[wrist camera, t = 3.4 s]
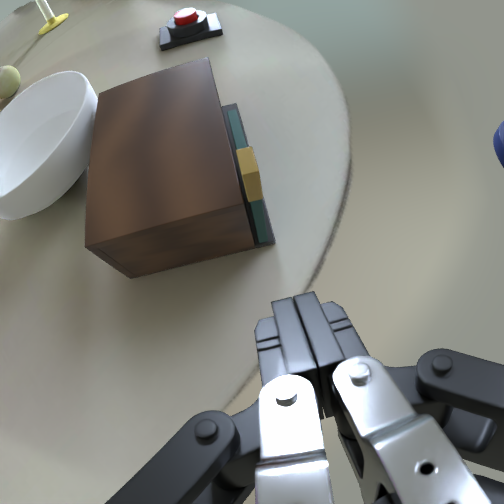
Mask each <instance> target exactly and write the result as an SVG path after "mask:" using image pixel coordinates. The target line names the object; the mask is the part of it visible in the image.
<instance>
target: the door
mask: <svg viewBox="0 0 504 504" xmlns="http://www.w3.org/2000/svg"><path fill="white" fill-rule="evenodd" d="M227 114H228V118H229V123H230V127H231V131H232V135H233V139H234V144H235V148H236V153H237V157H238V162H239V166H240V170H241V174H242V178H243V182H244V186H245V190H246V194H247V198H248V202H249V204H250V208H251V212H252V216H253V220H254V224H255V228H256V232H257V236H258V240H259V243H262V242H266V241H268V236H267V230H266V223H265V217H264V210H263V204H262V199H263V194H262V187H261V181H260V174H259V169H258V166H257V162H256V159H255V155H254V152H253V149H252V147H251V146H250V147H247V144H246V141H245V137H244V134H243V130H242V127H241V123H240V120H239V116H238V113H237V110H236V109H235V110H230V111H227Z"/></svg>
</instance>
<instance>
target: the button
mask: <svg viewBox="0 0 504 504" xmlns="http://www.w3.org/2000/svg"><path fill="white" fill-rule="evenodd" d="M174 19H175V22H176V25H186V24H190V23H192V22H194V21H196V20H197V19H198V17H197V13H196V10H195V9H194V8H187V9H183V10H180V11H178V12H176V13H175V14H174Z"/></svg>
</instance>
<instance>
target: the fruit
mask: <svg viewBox="0 0 504 504" xmlns="http://www.w3.org/2000/svg"><path fill="white" fill-rule="evenodd" d="M19 86H20V74H19V72H18V71H17V70H16V69H15V68H14V67H12V66H3V67H1V68H0V99H5V98H9V97H10V96H12V95H13V94H14V93H15V92H16V91H17V89H18V88H19Z"/></svg>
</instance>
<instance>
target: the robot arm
mask: <svg viewBox="0 0 504 504" xmlns="http://www.w3.org/2000/svg"><path fill="white" fill-rule="evenodd" d="M293 301H294V302H293ZM271 304H272V309H273V313H274V316H273V317H269V318H265V319H261V320H259V321H258V323H257V326H256V328H255V330H254V332H255V339H256V346H257V353H258V360H259V367H260V374H261V381H262V390H261V392H260V395H259V398H258V399H257V400H256V402H255V403H254V404H252V405H251V406H250V407H248V408H247V409H245V410H243V411H241V412H239V413H237V414H235V415H232V416H229V415H227V414H226V413H224V412H221V411H213V410H211V411H205V412H201V413H199V414H197V415H195V416H193V417H192V418H191V419H189V420H188V421H187V422H186V423H185V424H184V426H183V427H182V428H181V429H180V430H179V431H178V432H177V433H176V434H175V435H174V436H173V437H172V438H171V439H170V440H169V441H168V442H167V443H166V444H165V445H164V446H163V447H162V448H161V449H160V450H159V451H158V452H157V453H156V454H155V455H154V456H153V457H152V458H151V460H150V461H149V462H148V463H146V464H145V465H144V466H143V467H142V468H141V469H140V470H139V471H138V472H137V473H136V474H135V475H134V476H133V477H132V478H131V479H130V480H129V481H128V482H127V483H126V484H125V485H124V486H123V487H122V488H121V489H120V490H119V491H118V492H117V493H116V494H115V495H113V496H112V497H111V498H110V499H109V500H108V501H107V502H106V503H105V504H243V502H244V501H245V500H246V498H247V497H248V496H249V495H250V493H251V492H252V490H253V489H254V488H255V504H334V498H333V492H332V486H331V480H330V475H329V469H328V463H327V458H326V453H325V449H324V444H323V433H322V426H321V419H324V415H323V409H324V413H325V416H326V418H328V417H332V416H334V417H335V420H336V423H337V426H338V436H339V439H340V441H341V444H342V446H343V448H344V450H345V452H346V455H347V457H348V460H349V462H350V464H351V466H352V469H353V471H354V473H355V476H356V478H357V480H358V483H359V486H360V488H361V494H362V498H363V501H364V504H504V483H502V482H499V481H495V480H493V479H490V478H487V477H484V476H481V475H476V474H472V473H471V471H470V469H469V468H468V467H467V465H466V463H465V462H464V460H463V459H465V460H468V461H471V462H474V463H477V464H480V465H483V466H486V467H490V468H492V469H495V470H499V471H502V472H504V365H502V364H498V363H495V362H491V361H487V360H484V359H480V358H477V357H474V356H470V355H466V354H463V353H459V352H456V351H452V350H449V349H434V350H431V351H428V352H426V353H425V354H423V355H422V356H421V357H420V359H419V360H418V362H417V365H416V366H408V367H388V366H384V365H383V364H382V363H381V362H380V361H379V360H377V359H375V358H373V357H371V356H370V355H369V353H368V351H367V350H366V348H365V346H364V344H363V342H362V341H361V339H360V337H359V335H358V334H357V332H356V330H355V328H354V327H353V325H352V323H351V322H350V319H348V316H347V314H346V313H345V311H344V309H343V308H342V307H341V306H339V305H338V304H336V303H334V302H333V301H331V302H327V303H323V304H320V302H319V301H318V298H317V296H316V294H315V292H314V291H312V292H308V293H304V294H300V295H296V296H293V299H292V297H289V298H285V299H281V300H277V301H273V302H271ZM322 407H323V408H322Z"/></svg>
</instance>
